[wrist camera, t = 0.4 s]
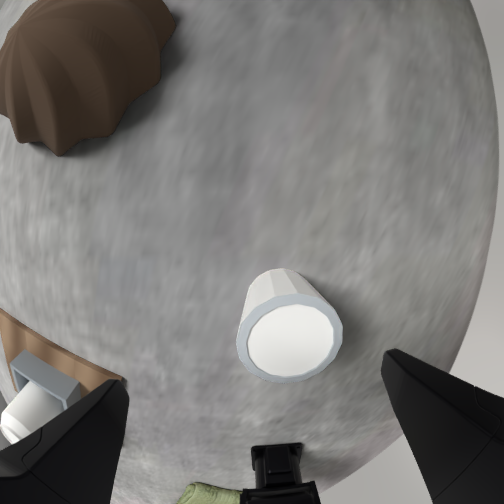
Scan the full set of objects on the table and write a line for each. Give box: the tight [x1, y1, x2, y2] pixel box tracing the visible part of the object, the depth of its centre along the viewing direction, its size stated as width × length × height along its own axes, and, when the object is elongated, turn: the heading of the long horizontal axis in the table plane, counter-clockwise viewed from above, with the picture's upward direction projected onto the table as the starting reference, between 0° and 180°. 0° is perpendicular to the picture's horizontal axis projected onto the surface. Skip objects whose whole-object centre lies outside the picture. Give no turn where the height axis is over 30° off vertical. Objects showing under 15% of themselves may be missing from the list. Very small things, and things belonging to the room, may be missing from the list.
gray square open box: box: [10, 349, 81, 410], centre depth 24 cm, size 9×9×4 cm
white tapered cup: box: [236, 268, 343, 384], centre depth 20 cm, size 7×7×7 cm
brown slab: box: [0, 308, 122, 398], centre depth 25 cm, size 20×16×1 cm
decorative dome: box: [0, 0, 176, 156], centre depth 12 cm, size 19×20×10 cm
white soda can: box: [0, 381, 64, 444], centre depth 20 cm, size 6×6×12 cm
